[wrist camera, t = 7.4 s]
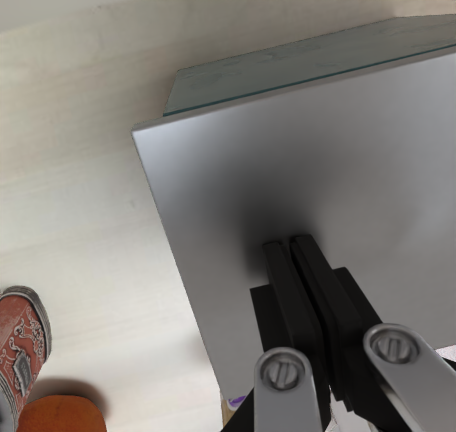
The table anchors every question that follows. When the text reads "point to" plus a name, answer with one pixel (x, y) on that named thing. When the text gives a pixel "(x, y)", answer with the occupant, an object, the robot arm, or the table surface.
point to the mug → (347, 419)
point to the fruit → (61, 415)
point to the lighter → (20, 350)
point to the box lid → (313, 198)
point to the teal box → (309, 60)
